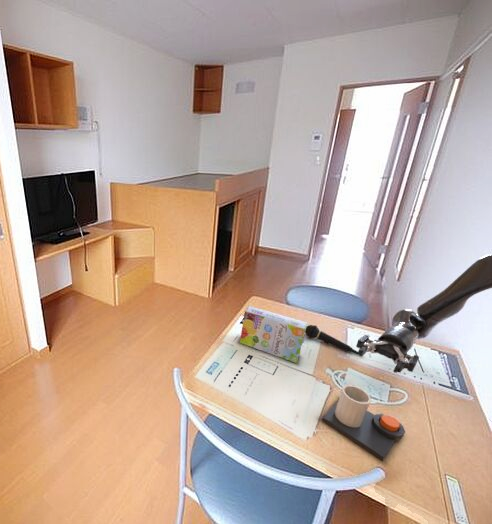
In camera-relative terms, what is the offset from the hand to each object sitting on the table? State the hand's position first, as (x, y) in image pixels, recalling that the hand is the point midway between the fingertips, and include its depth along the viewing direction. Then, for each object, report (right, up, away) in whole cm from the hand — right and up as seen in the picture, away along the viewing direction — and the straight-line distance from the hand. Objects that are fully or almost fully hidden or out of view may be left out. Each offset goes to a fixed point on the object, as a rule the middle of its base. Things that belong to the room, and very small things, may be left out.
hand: (377, 361), depth 88 cm
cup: (-9, -16, 0) cm, 18 cm away
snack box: (-19, -5, +30) cm, 36 cm away
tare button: (0, -16, -4) cm, 17 cm away
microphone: (+6, -4, +33) cm, 33 cm away
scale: (-6, -18, -1) cm, 19 cm away
